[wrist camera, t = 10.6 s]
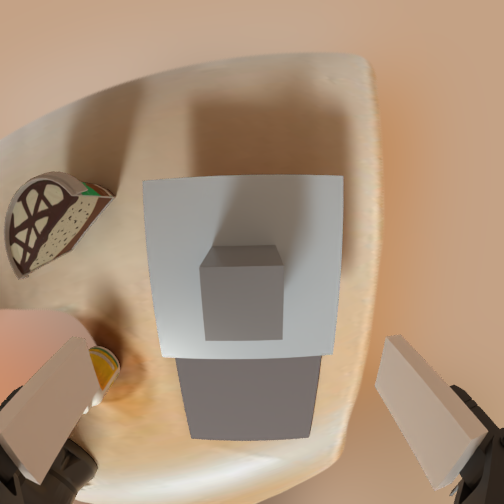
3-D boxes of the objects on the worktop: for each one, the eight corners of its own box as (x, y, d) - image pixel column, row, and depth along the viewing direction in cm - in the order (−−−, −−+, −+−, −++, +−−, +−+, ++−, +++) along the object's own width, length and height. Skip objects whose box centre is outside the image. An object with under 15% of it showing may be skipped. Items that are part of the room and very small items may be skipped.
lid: (165, 350, 26) (143, 396, 19) (147, 181, 23) (108, 180, 16) (329, 347, 26) (350, 394, 19) (338, 176, 23) (373, 173, 16)
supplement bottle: (121, 380, 35) (96, 424, 26) (89, 369, 35) (59, 409, 25) (120, 350, 34) (90, 394, 24) (86, 339, 34) (51, 377, 24)
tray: (191, 436, 37) (191, 438, 37) (173, 342, 33) (173, 344, 33) (308, 435, 37) (308, 437, 37) (322, 341, 33) (322, 342, 33)
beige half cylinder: (94, 150, 28) (41, 142, 18) (124, 187, 29) (75, 190, 19) (40, 223, 30) (-12, 237, 20) (66, 258, 31) (16, 282, 21)
